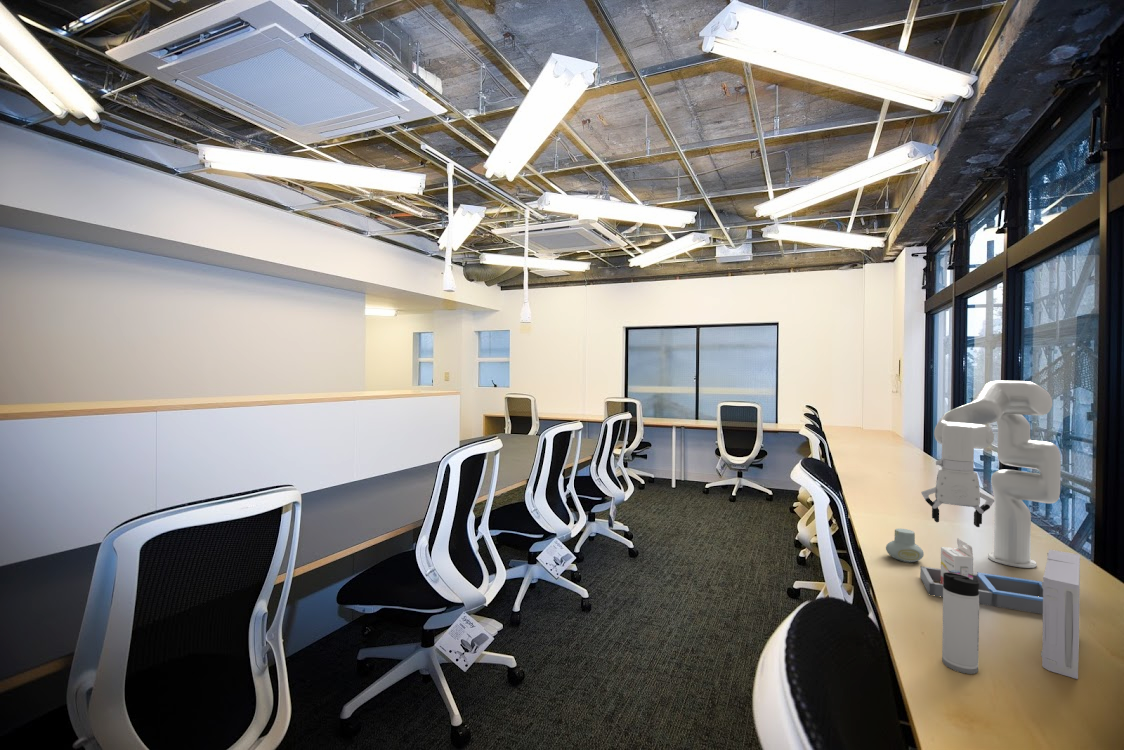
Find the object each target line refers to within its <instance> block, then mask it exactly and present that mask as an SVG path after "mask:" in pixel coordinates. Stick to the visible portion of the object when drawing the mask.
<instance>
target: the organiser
mask: <svg viewBox="0 0 1124 750" xmlns="http://www.w3.org/2000/svg"><path fill="white" fill-rule="evenodd" d="M919 569H920V571H919V572H920V576H919V577H920V579H921V581H922V583H923V585H924V587H925V589H926V591H927V594H928V595H929V594H930V595H935V596H934V597H936V596H941V597H940V598H942V597H943V584H941V583H939V582H941V568H935V567H930V566H922V565H920V568H919ZM973 580H974V581H977V582H979V590H978V591H979V605H985V606H990V607H998V608H1003V609H1008V610H1016V611H1020V612H1021V611H1022V612H1027V613H1033V614H1040V615H1043V588H1042V582H1043V580H1042V581H1040V580H1034V579H1026V578H1020V577H1014V576H1013V577H1012V576H1006V575H999V574H992V573H986V572H977V573H973ZM930 595H929V596H930ZM1038 596H1039V597H1038Z"/></svg>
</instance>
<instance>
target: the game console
mask: <svg viewBox="0 0 1124 750" xmlns="http://www.w3.org/2000/svg"><path fill="white" fill-rule="evenodd" d="M1046 554H1047V556H1046V557H1047V558H1046V563H1045V564H1046V565H1045V568H1044V569H1045V570H1044V573H1043V576H1042V578H1043V579H1042V588H1043V614H1042V649H1041V651H1040V657H1041V658H1042V659H1041V661H1042V667H1043V668H1044V669H1046V670H1048V671H1049V672H1053V673H1056V674H1059V675H1062V676H1066V677H1069V678H1072V679H1076V680H1078V679H1079V658H1080V657H1079V654H1080V653H1079V652H1080V647H1079V646H1080V594H1081V593H1080V592H1081V589H1080V585H1081V584H1080V581H1081V578H1080V577H1081V574H1080V573H1081V569H1080V568H1081V555H1080V554H1077V553H1072V552H1068V551H1066V552H1065V551H1061V550H1056V549H1055V550H1054V549H1048V552H1047V553H1046Z"/></svg>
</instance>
